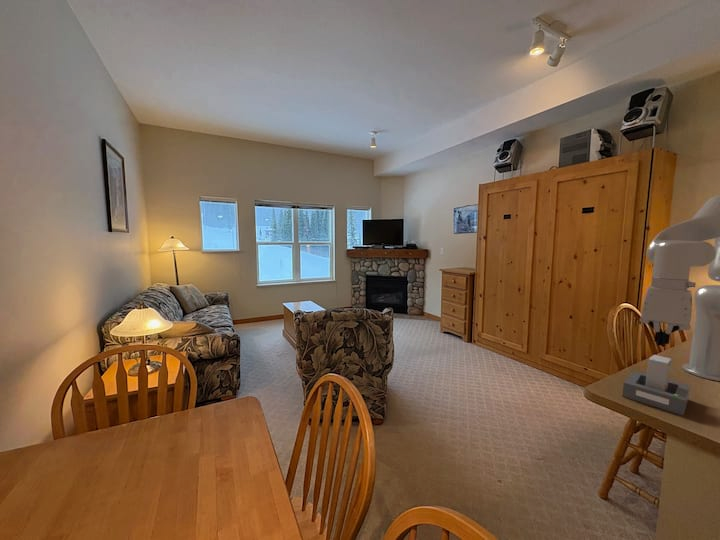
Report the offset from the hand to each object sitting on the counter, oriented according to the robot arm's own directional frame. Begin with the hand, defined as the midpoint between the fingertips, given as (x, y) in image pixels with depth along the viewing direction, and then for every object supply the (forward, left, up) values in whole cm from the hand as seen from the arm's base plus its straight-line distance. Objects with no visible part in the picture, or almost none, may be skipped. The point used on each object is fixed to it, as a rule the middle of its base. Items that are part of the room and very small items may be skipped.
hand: (661, 345), depth 92 cm
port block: (0, 0, -17) cm, 17 cm away
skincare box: (0, 0, -17) cm, 17 cm away
